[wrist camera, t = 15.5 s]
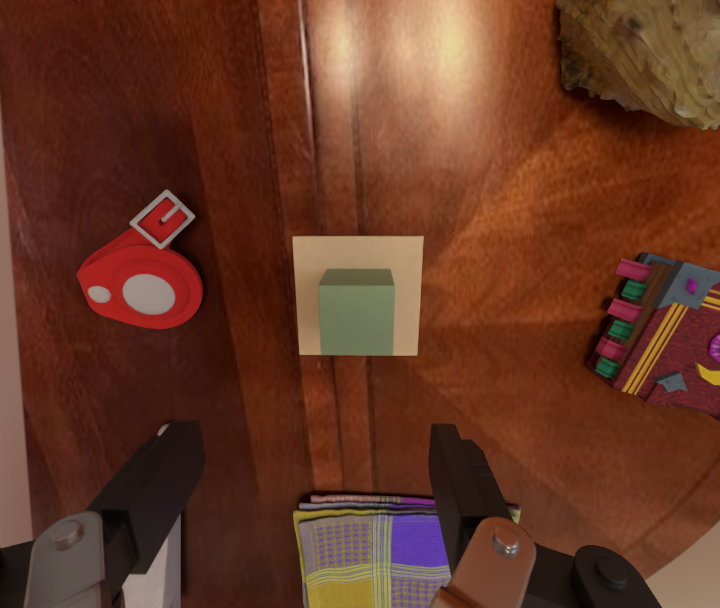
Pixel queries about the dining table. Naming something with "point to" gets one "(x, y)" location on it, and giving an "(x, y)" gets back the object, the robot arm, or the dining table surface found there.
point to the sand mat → (359, 254)
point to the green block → (356, 312)
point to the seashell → (646, 55)
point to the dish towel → (371, 551)
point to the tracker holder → (145, 271)
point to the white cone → (158, 574)
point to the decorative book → (664, 335)
